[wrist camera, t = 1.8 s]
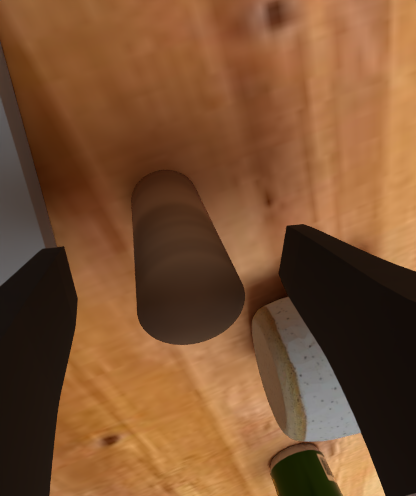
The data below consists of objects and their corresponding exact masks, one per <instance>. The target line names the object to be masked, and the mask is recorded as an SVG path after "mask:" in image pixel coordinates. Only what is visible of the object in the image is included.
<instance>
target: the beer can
mask: <svg viewBox="0 0 416 496" xmlns="http://www.w3.org/2000/svg"><path fill="white" fill-rule="evenodd" d="M270 474H271V477H272V480H273V483H274V486H275V489H276V492H277V495H278V496H343V495H342V493H341V491H340V489H339V487H338V485H337V483H336V481H335V479H334V476H333V474H332V472H331V470H330V468H329V466H328V464H327V462H326V460H325V458H324V456H323V454H322V453H321V452H320V451H319V450H318V449H317V448H316V447H315V446H314V445H313V444H308V443H306V444H298V445H294V446H291V447H289V448H286V449H285V450H283V451H281V452H279V453H278V454H277V455H276V456H275V457H274V458H273V459H272V461H271V470H270Z"/></svg>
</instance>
